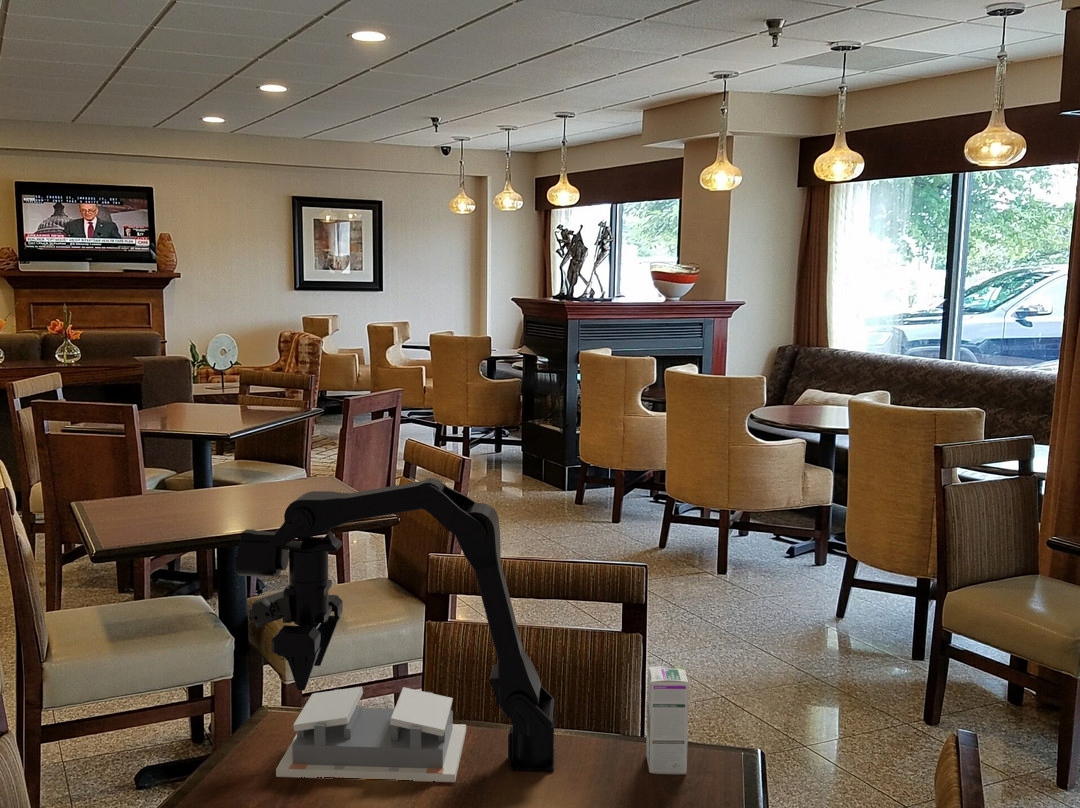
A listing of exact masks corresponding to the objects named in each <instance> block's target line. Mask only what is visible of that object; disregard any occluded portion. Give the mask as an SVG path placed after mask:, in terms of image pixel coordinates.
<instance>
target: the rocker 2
mask: <svg viewBox="0 0 1080 808" xmlns="http://www.w3.org/2000/svg"><path fill="white" fill-rule="evenodd" d="M428 692H429V691H424V690H423V691H422V690H417V689H413V688H409V687H404V686H403V687H402V690H401V692H400V694H399V696H398V700H397V701H396V705H395V707H394V708H393V709H394V712H393V714H392V717H391V721H390V725H394V726H399V727H403V728H408V729H410V727H422V732H426V733H430V734H435V735H439V736H443V735H444V731H445V727H446V724H447V720H448V716H449V712H450V709H451V710H452V705H453V699H454V697H449V696H445V695H441V694H435V693H433V694H432V693H428Z"/></svg>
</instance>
